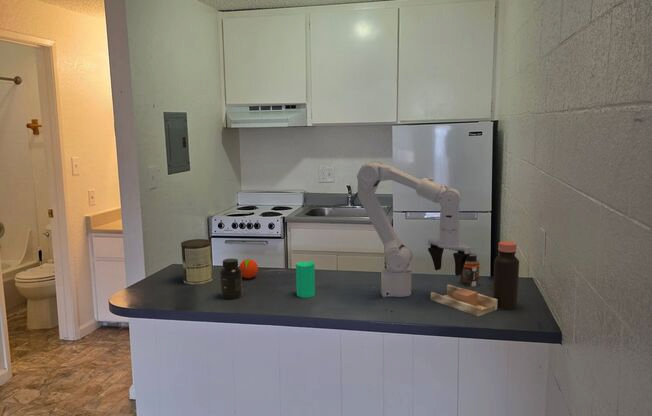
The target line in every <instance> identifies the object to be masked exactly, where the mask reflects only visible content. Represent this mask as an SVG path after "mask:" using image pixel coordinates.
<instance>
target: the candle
mask: <svg viewBox="0 0 652 416" xmlns="http://www.w3.org/2000/svg"><path fill="white" fill-rule="evenodd" d="M315 269H316V268H315V262H314V261H312V260H311V261H310V260H308V261H299V262H297V263H295V284H296V286H295V287H296V296H297V297H299V298H303V299H304V298H312V297H314V296H315V295H316V288H315V287H316V282H315V276H316V273H315V271H316V270H315Z"/></svg>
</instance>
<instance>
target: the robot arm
mask: <svg viewBox="0 0 652 416" xmlns="http://www.w3.org/2000/svg"><path fill="white" fill-rule="evenodd" d="M356 178H357V179H356V180H357V197H358V199H359V201H360V204H361V205H362V207H363V209H364V211H365V212H366V215H367V216H368V218H369V220H370V222H371V224H372V227H373V228H374V230H375V232H376V234H377V235H378V237H379V238H380V241H381V242H382V244H383V250H384V255H385V256H386V263H387V266H388V268H385V269H381V272H380V277H381V280H380V282H381V283H380V284H381V285H380V294H381V296H382V298H387V297H394V298H395V297H396V298H397V297H398V298H403V297H409V296H411V295H412V267H411V266H410V263H411V261H412V259H413V252H412V250H411V248H409V247H408V246H407V245H406V244H405V243H404V241H403V240H402V239H401V238H400V237H398V235H397V232H396V231H395V229H394V227H393V225H392V223H391V221H390V220H389V217H388V215H387V214H386V212H385V210H384V208H383V207H382V205H381V202H380V201H379V199H378V197H377V195H376V193H377V189H378V187H379V184H380V183H381V182H384V181H393V182H395V183H399V184H401V185H403V186H406V187H409V188H411V189H414V190H415V191H416V195H417V196H419V197H422V198H423V199H426V200H429V201H431V202H433V203H435V204H439V205H440V214H439V237H438V239H436V238H428V239H427V246H429V247H428V248H427V251H428V253H429V255H430V256H431V259H432V262H433V267H434V270H435V271H439V270H442V263H443V262H442V260H443V254H444V250H445V249H446V250H449V251H453V253H452V255H453V259H454V260H453V261H454V274H455V276H457V277H458V276H460V275H461V274H462V270H463V267H464V264H465V262H466V260H467V259H468V257H469V256H470V253H472V246H469V245H466V244H463V243H461V242H459V238H460V211H461V210H460V203H461V200H462V199H461V198H462V196H461V193H460V192H459V190H457V189H456V188H454V187H449V185H447V184H445V185H443V184H441V183H438V182H436V181H434V178H433V177H428V178H427V177H423V178H421V179H418V178H417V177H415V176H413V175H410V174H409V173H406V172H405V171H402V170H400V169H398V168H396V167H394V166H392V165H389V164H387V163H382V162H380V161H375V160H374V161H372V162H369V163H364V164H363V165H361V166H360V167H359V170H358V173H357V174H356Z"/></svg>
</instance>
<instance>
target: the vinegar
mask: <svg viewBox="0 0 652 416" xmlns="http://www.w3.org/2000/svg"><path fill="white" fill-rule="evenodd" d="M497 248H498V249H497V250H498V255H497V256H496V257H495V258H494V260H493V262H494V263H493V284H492V285H493V286H492V287H493V288H492V298H494V299H498V301H497V309H500V310H504V311H505V310H506V311H510V310H511V311H512V310H515V309H517V308H518V295H519V294H518V293H519V274H520V260H519V258H518V257H517V256H516V253H517V243H516V242H513V241H505V240H504V241H500V242H498V247H497Z"/></svg>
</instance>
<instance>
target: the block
mask: <svg viewBox="0 0 652 416" xmlns="http://www.w3.org/2000/svg"><path fill="white" fill-rule="evenodd" d="M478 294H479V292H477V291H474V290H471V289H467V288H462V289H460V290H457V291H454V292H453V299H455V300H458V301H461V302H464V303H467V304H470V305H473V306H477V298H478Z"/></svg>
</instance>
